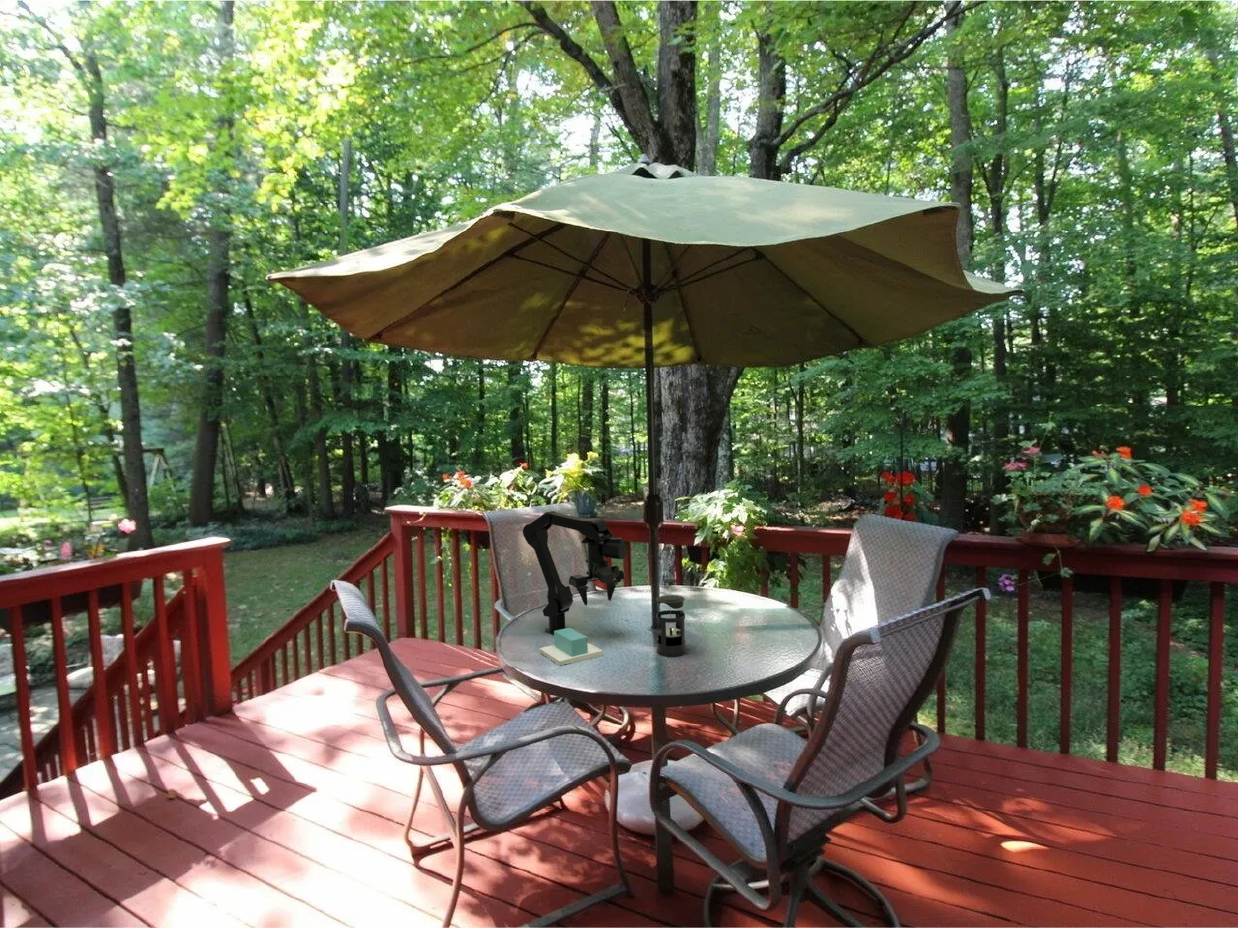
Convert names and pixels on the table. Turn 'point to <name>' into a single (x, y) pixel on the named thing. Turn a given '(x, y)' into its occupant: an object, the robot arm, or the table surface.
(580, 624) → the table surface
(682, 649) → the french press
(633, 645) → the table surface
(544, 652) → the base plate
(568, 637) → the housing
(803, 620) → the table surface
